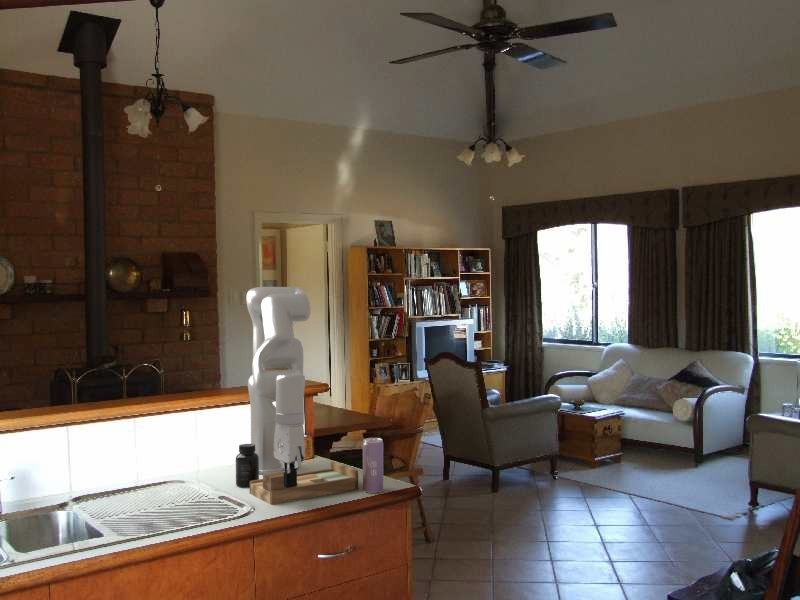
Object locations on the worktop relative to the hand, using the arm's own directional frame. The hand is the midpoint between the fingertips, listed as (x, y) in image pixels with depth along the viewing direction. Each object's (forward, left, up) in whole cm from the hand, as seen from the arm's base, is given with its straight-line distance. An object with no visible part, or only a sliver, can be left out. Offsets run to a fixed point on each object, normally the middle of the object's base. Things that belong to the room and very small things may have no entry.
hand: (290, 486), depth 221 cm
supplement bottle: (-27, 0, -6) cm, 28 cm away
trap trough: (-11, +10, -5) cm, 16 cm away
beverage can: (0, +27, -6) cm, 28 cm away
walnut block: (-8, 0, -2) cm, 9 cm away
